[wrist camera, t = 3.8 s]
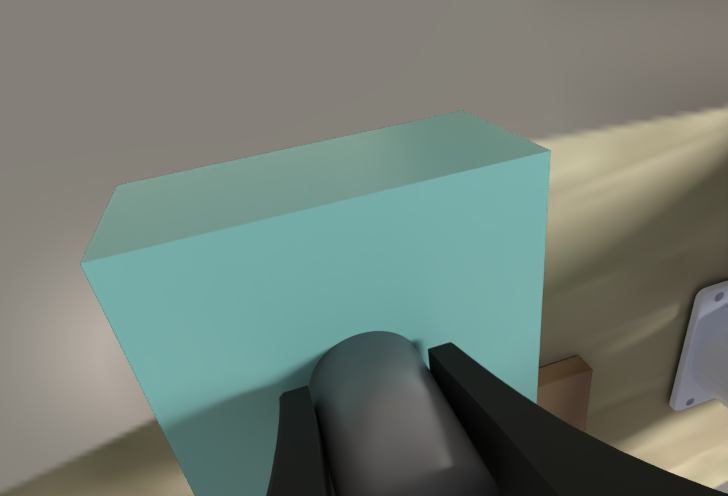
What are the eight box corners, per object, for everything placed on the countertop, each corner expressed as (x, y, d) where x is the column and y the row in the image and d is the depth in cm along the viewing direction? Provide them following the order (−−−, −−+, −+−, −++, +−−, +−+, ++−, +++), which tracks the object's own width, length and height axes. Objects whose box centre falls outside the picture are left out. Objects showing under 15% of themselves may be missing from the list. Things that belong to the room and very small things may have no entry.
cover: (463, 110, 15) (704, 222, 8) (471, 359, 20) (623, 570, 12) (116, 185, 13) (4, 422, 6) (221, 438, 18) (230, 735, 11)
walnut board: (578, 355, 23) (592, 369, 22) (561, 508, 29) (572, 523, 28) (286, 450, 21) (290, 470, 20) (333, 596, 27) (337, 616, 26)
